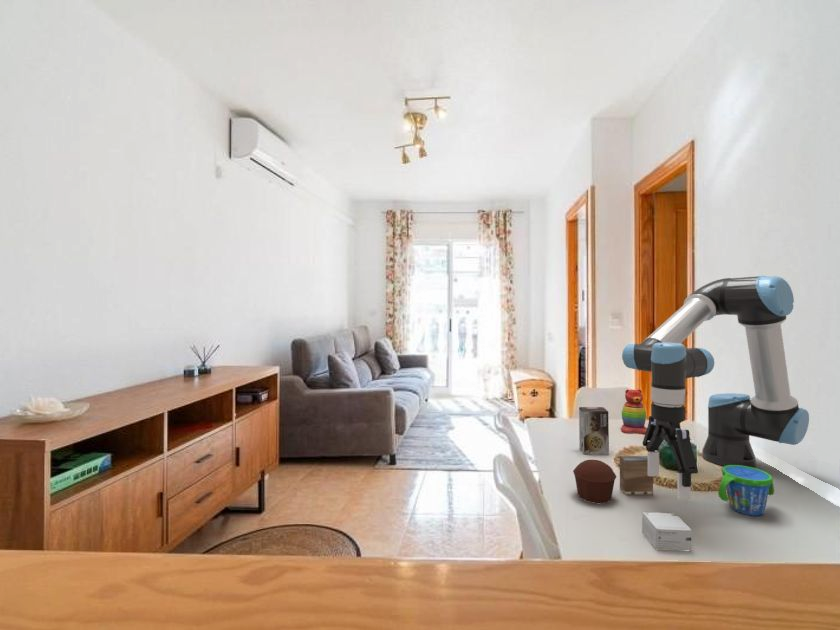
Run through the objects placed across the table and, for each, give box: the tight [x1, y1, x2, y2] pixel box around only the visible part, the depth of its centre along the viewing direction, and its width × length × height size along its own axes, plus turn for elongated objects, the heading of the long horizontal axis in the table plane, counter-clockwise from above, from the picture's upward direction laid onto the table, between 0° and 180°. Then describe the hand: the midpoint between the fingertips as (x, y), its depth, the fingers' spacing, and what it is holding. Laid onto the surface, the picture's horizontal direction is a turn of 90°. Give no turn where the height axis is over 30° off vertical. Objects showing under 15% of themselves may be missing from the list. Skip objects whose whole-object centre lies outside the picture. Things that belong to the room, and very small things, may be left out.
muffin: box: [572, 459, 617, 504], centre depth 122 cm, size 12×11×10 cm
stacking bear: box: [620, 389, 647, 435], centre depth 184 cm, size 11×10×18 cm
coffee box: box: [578, 406, 610, 456], centre depth 159 cm, size 9×6×16 cm
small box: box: [641, 511, 693, 552], centre depth 99 cm, size 8×8×5 cm
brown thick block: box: [619, 455, 654, 496], centre depth 125 cm, size 4×8×10 cm, turn 90°
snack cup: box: [717, 465, 775, 517], centre depth 113 cm, size 16×10×10 cm
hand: (667, 486), depth 109 cm, fingers open, 13 cm apart
